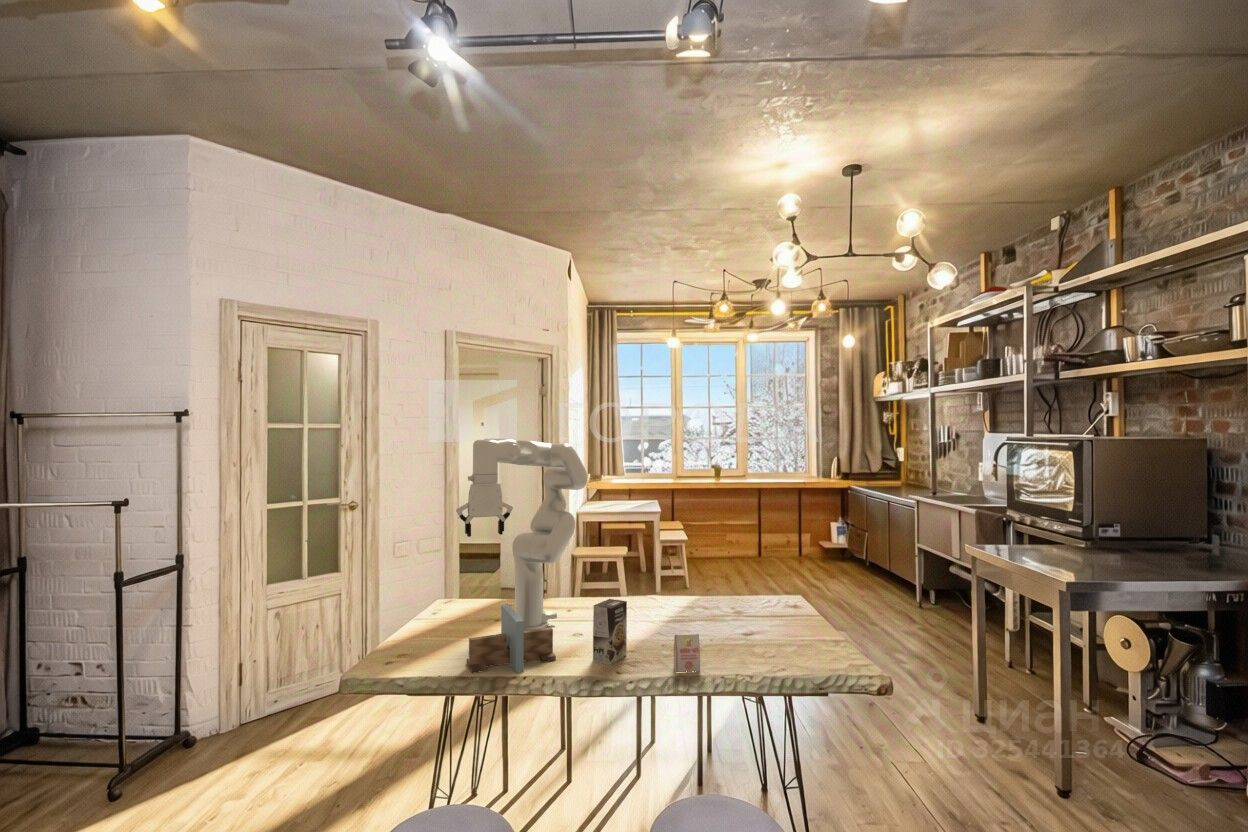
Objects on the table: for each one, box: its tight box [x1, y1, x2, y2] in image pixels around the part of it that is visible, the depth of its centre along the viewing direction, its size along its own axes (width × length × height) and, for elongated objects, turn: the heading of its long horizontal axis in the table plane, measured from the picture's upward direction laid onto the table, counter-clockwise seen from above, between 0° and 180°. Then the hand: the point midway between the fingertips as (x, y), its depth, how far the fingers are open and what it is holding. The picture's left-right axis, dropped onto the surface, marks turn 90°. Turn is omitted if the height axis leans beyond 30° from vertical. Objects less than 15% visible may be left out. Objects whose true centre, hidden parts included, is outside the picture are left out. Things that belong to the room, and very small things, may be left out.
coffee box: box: [592, 598, 628, 666], centre depth 179 cm, size 9×6×16 cm
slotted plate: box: [500, 603, 524, 674], centre depth 176 cm, size 18×2×14 cm, turn 24°
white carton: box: [673, 633, 701, 673], centre depth 170 cm, size 4×7×10 cm, turn 95°
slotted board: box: [466, 626, 557, 674], centre depth 176 cm, size 24×8×8 cm, turn 114°
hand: (484, 535), depth 189 cm, fingers open, 9 cm apart
